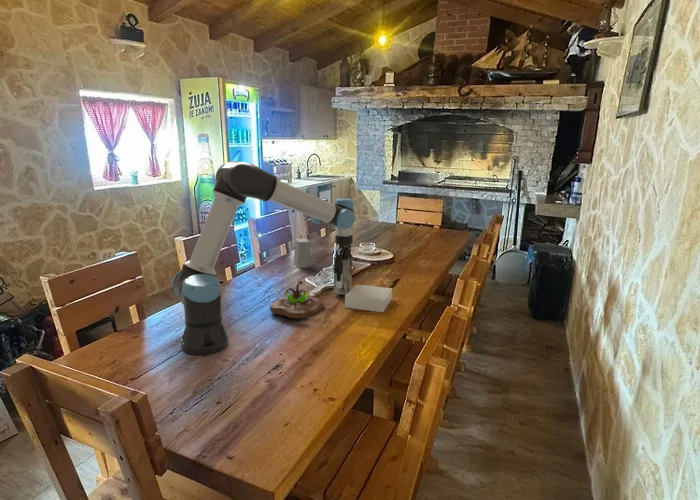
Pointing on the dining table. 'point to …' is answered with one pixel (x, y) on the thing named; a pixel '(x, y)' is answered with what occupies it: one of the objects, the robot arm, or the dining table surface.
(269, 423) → the dining table surface
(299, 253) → the skincare box
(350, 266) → the coffee box
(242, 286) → the dining table surface
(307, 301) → the plant
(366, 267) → the dining table surface
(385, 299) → the riser
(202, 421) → the dining table surface
